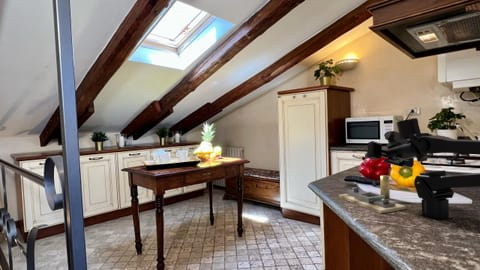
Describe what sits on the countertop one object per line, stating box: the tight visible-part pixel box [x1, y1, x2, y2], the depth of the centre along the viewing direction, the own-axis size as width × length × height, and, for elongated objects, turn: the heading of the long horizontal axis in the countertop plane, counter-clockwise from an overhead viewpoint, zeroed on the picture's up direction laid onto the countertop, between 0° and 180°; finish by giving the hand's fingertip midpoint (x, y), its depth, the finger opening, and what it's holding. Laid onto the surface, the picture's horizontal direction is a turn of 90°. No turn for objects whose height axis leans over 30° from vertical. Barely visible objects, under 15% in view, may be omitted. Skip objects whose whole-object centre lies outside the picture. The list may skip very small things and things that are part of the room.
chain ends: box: [346, 186, 396, 208], centre depth 103 cm, size 19×8×3 cm, turn 17°
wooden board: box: [338, 193, 407, 214], centre depth 103 cm, size 22×11×1 cm, turn 17°
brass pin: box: [379, 174, 391, 200], centre depth 107 cm, size 3×3×9 cm
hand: (374, 158), depth 110 cm, fingers open, 9 cm apart
